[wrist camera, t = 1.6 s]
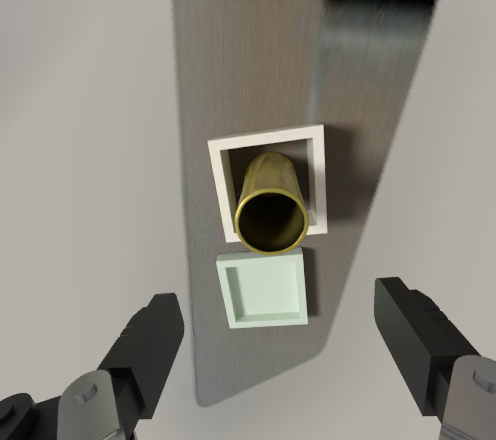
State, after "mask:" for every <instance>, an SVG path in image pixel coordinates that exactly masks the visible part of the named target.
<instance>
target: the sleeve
mask: <svg viewBox="0 0 496 440" xmlns="http://www.w3.org/2000/svg"><path fill="white" fill-rule="evenodd" d="M298 139H306V142H307V159H308V176H309V193H310V210H307V212H308V217H309V226H308V231H307V234H306V235H311V234H321V233H327V213H326V185H325V157H324V129H323V125H322V124H317V123H311V124H304V125H297V126H290V127H283V128H276V129H269V130H262V131H255V132H248V133H241V134H234V135H227V136H220V137H216V138H213V139H211V140H209V141H208V146H209V151H210V156H211V162H212V167H213V173H214V178H215V183H216V189H217V194H218V199H219V205H220V210H221V215H222V221H223V226H224V232H225V237H226V242H236V241H241V240H240V239H239V237H238V235H237V233H236V229H235V213H236V211H237V204H236V198H235V191H234V185H233V179H232V173H231V167H230V161H229V155H228V149H232V148H240V147H247V146H254V145H262V144H269V143H276V142H284V141H291V140H298Z"/></svg>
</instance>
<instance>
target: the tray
mask: <svg viewBox="0 0 496 440" xmlns="http://www.w3.org/2000/svg"><path fill="white" fill-rule="evenodd" d="M216 263H217V268H218V273H219V278H220V283H221V288H222V292H223V297H224V302H225V307H226V312H227V316H228V321H229V326H230V328H244V327H262V326H280V325H298V324H308V319H307V305H306V292H305V278H304V265H303V253H302V249H301V247H296V248H295V249H293V250H291V251H289V252H287V253H284V254H280V255H271V256H268V255H261V254H258V253H256V252H254V251H247V252H236V253H225V254H219V255H218V258H217V261H216Z"/></svg>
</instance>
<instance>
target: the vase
mask: <svg viewBox="0 0 496 440" xmlns="http://www.w3.org/2000/svg"><path fill="white" fill-rule="evenodd" d="M308 226H309V217H308V212H307V208H306V206H305V203H304V200H303V197H302V195H301V192H300V189H299V185H298V181H297V177H296V170H295V168H294V166H293V164H292V163H291V161H290V160H289V159H288V158H286V157H285V156H283V155H282V154H279V153H274V152H269V153H263V154H260V155H258V156H256V157H255V158H254V159H252V160H251V161H250V163H249V164H248V166H247V168H246V171H245V175H244V185H243V191H242V194H241V197H240V200H239V203H238V208H237V211H236V213H235V229H236V233H237V235H238V237H239V239H240V240H241V242H242V243H243V244H244V245H245V246H246V247H248V248H249V249H250V250H252V251H254V252H256V253H258V254H261V255H268V256H271V255H280V254H284V253H287V252H289V251H291V250H293V249H295V248H296V247H297V246H298V245H299V244H300V243H301V241H302V240H303V239H304V237H305V236H306V234H307V231H308Z"/></svg>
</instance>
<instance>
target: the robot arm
mask: <svg viewBox="0 0 496 440" xmlns="http://www.w3.org/2000/svg"><path fill="white" fill-rule="evenodd" d="M374 316H375V321H376V325H377V327H378V329H379V331H380V333H381V335H382V337H383V339H384V341H385V343H386V345H387V347H388V349H389V351H390V353H391V355H392V357H393V359H394V361H395V363H396V365H397V366H398V369H399V370H400V373H401V374H402V376H403V378H404V380H405V382H406V384H407V386H408V388H409V390H410V392H411V394H412V396H413V398H414V400H415V402H416V404H417V406H418V408H419V410H420V412H421V414H422V416H437V417H438V419H439V421H440V422H441V424H442V426H441V430H440V435H439V440H496V361H494V360H492V359H489V358H486V357H482V356H481V355H480V354H479V353H478V352H477V351H476V349H474V347H473V346H472V345H471V344H470V343H469V341H468V340H467V339H466V338H465V337H464V336H463V335H462V334H461V332H460V331H459V330H458V329H457V328H456V327H455V326H454V324H453V323H452V322H451V321H450V320H448V318H447V317H446V315H445V314H444V313H443V312H442V311H440V309H439V307H438V306H437V305H436V304H435V303H434V302H433V301H432V299H430V298H429V297H428V296H426V295H424V294H423V293H421V292H420V291H418V290H416V289H415V290H409V289H408V288H407V286H406V285H405V284H404V283H403V282H402V280H401V279H400V278H399V277H389V278H377V279H376V280H375V296H374ZM183 335H184V321H183V317H182V314H181V310H180V307H179V303H178V300H177V296H176V294H175V293H164V294H156V295H154V297H153V298H152V300H151V301H150V303H149V305H148V306H147V307H143V308H142V309H141V310H139V311H138V312H137V313H136V314H135V315H134V316H133V317H132V318H131V320H130V321H129V322H128V324H127V325H126V329H124V330H123V331H122V333H121V334H120V337H118V339H117V340H116V342H115V343H114V345H113V346H112V348H111V349H110V351H109V352H108V354H107V355H106V356H105V358H104V359H103V361H102V362H101V364H100V365H99V367H98V369H97V370H95V371H91V372H88V373H86V374H84V375H82V376H81V377H79V378H78V379H76V380H75V381H74V382H73V383H71V384H70V385H69V386H68V387H67V389H66V390H65V391H64V393H63V394H62V395H61V396H58V397H55V398H52V399H49V400H46V401H43V402H40V403H36V404H35V402H34V401H33V399H32V398H31V396H30V395H29V394H27V393H19V394H15V395H12V396H10V397H7V398H5V399H4V400H2V401H0V440H137V436H136V433H135V431H134V429H135V427H136V424H137V422H138V420H139V419H152V417H153V414H154V412H155V409H156V406H157V404H158V401H159V398H160V396H161V393H162V391H163V388H164V386H165V383H166V380H167V378H168V375H169V373H170V370H171V367H172V365H173V362H174V359H175V357H176V354H177V352H178V349H179V346H180V344H181V341H182V339H183Z"/></svg>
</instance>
